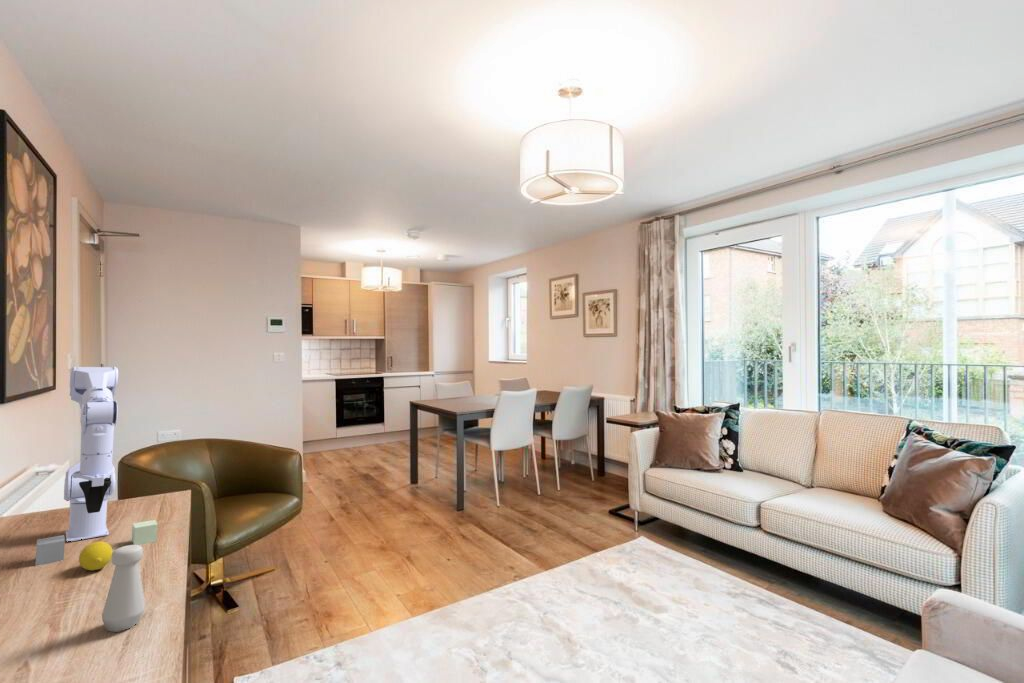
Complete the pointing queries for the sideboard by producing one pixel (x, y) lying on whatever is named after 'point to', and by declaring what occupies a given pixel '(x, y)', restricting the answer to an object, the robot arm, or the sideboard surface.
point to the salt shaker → (125, 590)
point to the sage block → (144, 532)
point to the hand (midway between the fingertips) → (93, 512)
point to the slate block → (50, 550)
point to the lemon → (95, 555)
